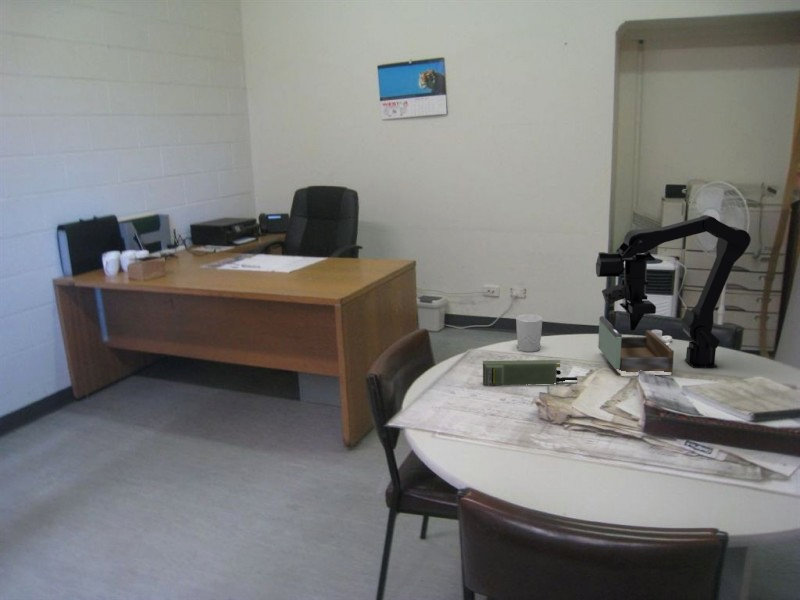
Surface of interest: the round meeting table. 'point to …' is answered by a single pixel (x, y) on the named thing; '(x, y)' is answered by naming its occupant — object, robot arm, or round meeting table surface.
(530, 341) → the white cup
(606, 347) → the panel
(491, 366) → the handheld radio
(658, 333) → the teacup and saucer
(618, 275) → the robot arm
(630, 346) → the brown and grey drawer
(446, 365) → the round meeting table surface
